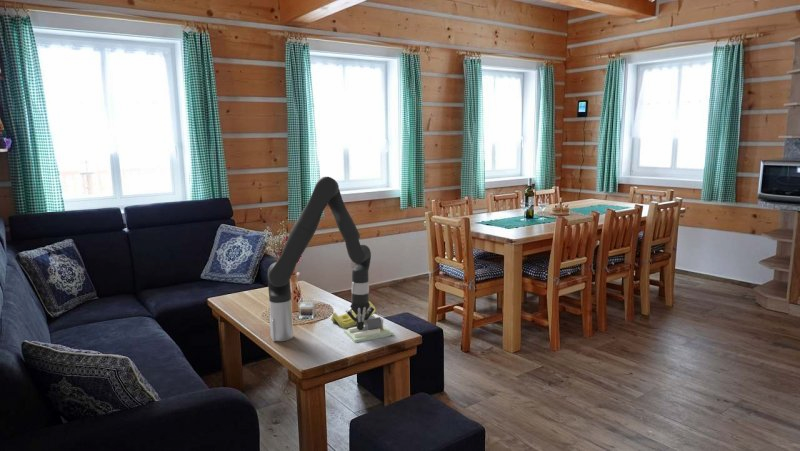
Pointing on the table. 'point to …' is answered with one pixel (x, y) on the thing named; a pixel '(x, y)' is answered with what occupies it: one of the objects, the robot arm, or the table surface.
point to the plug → (373, 323)
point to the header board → (367, 333)
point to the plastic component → (347, 318)
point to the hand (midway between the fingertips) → (360, 329)
